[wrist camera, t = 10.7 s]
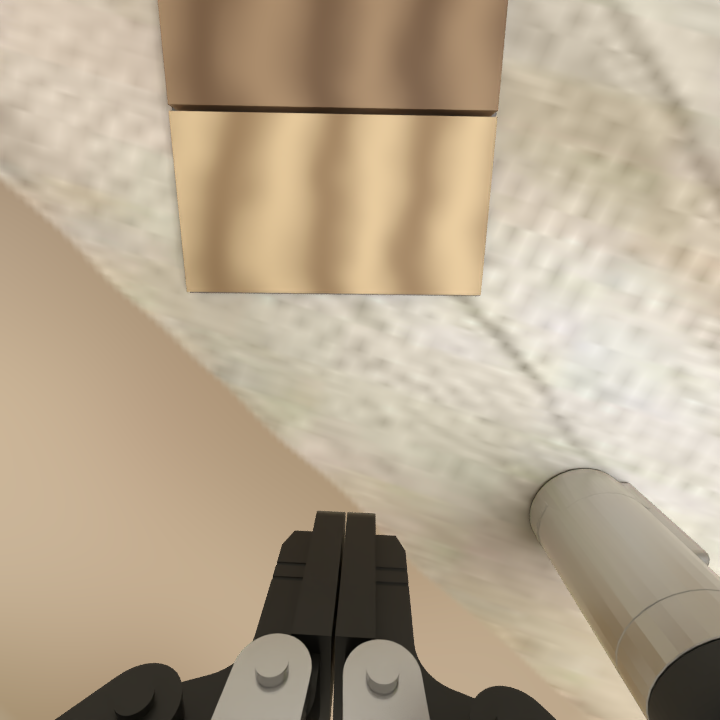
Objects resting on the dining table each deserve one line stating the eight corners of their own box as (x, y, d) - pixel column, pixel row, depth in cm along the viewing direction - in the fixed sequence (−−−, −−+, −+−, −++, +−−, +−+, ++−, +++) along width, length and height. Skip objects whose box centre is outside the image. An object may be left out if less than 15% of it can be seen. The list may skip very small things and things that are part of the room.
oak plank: (488, 123, 31) (497, 117, 29) (473, 291, 34) (480, 295, 32) (179, 118, 30) (168, 110, 29) (195, 288, 34) (186, 291, 32)
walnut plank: (507, -92, 27) (518, -117, 26) (488, 118, 31) (497, 110, 29) (160, -102, 27) (145, -127, 25) (179, 112, 30) (167, 104, 28)
